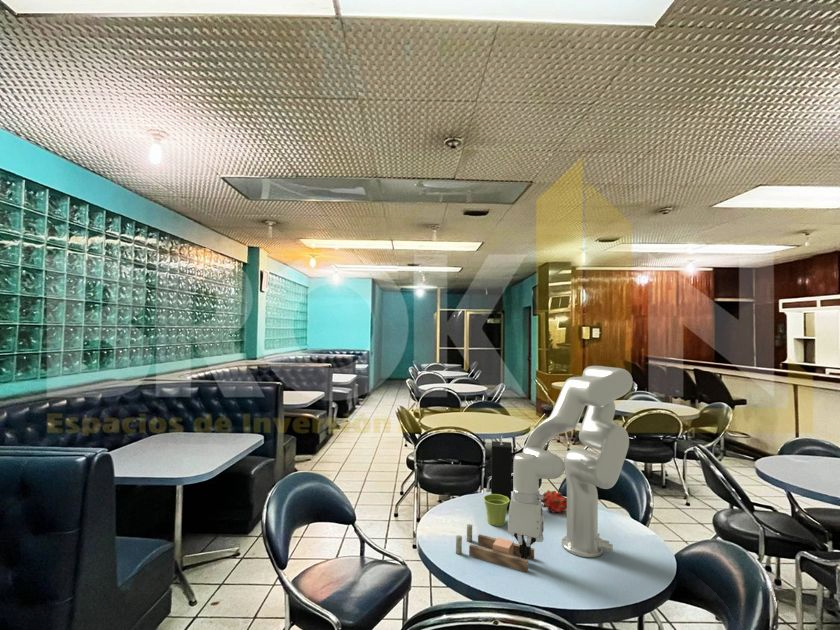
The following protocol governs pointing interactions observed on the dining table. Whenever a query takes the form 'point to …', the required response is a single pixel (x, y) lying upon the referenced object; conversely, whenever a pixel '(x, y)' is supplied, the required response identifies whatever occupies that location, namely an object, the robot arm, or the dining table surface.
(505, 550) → the block
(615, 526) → the dining table surface
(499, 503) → the plant pot
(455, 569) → the dining table surface
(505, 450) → the tall black pillar
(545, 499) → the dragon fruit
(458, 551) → the chute
